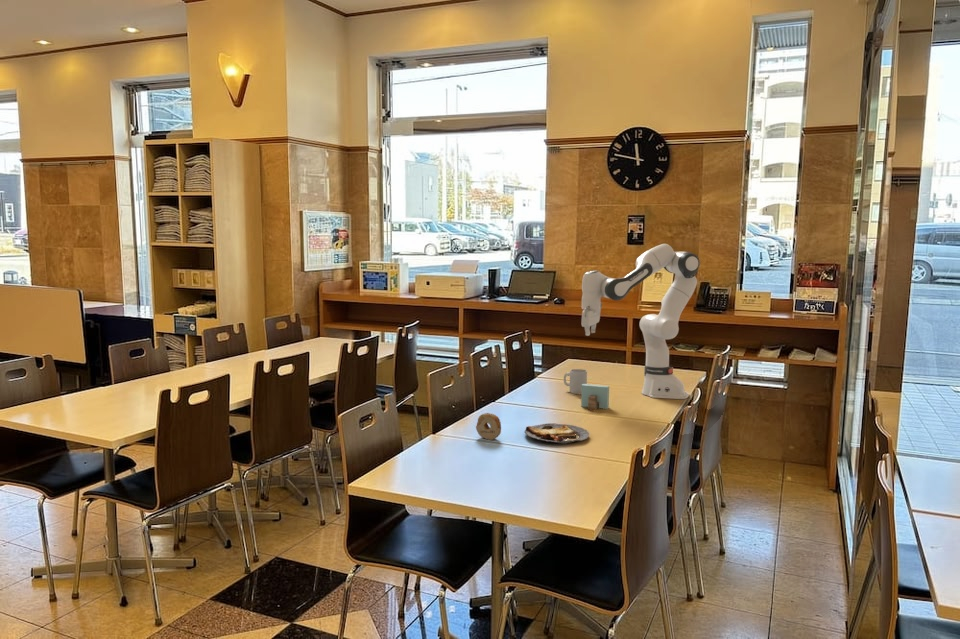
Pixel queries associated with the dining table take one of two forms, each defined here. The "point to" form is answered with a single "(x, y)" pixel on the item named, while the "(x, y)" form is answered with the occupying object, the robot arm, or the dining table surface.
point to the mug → (576, 380)
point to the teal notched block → (597, 390)
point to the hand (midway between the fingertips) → (590, 334)
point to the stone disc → (484, 429)
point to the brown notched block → (592, 402)
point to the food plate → (556, 432)
